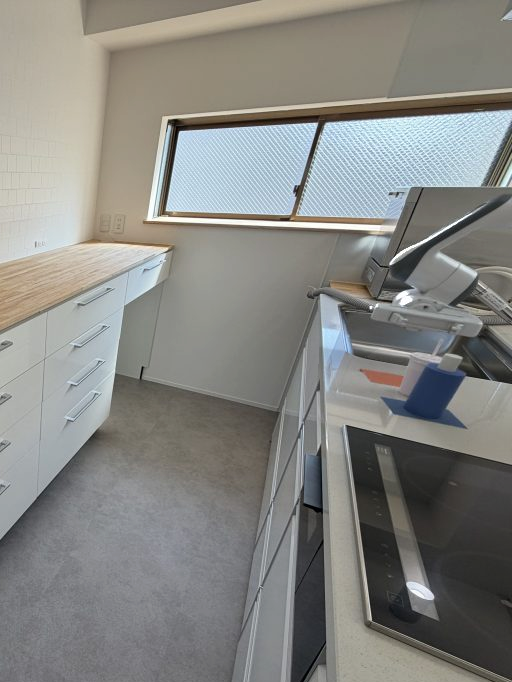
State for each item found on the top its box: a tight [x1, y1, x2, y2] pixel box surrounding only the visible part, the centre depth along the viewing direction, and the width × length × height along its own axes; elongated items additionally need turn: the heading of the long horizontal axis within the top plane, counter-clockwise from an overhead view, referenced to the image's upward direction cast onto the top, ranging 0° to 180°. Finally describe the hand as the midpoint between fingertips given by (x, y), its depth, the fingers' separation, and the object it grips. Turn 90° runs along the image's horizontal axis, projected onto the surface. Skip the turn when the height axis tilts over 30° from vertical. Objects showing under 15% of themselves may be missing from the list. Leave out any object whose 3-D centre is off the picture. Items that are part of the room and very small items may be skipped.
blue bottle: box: [403, 353, 467, 419], centre depth 85 cm, size 6×6×13 cm
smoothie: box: [398, 338, 445, 397], centre depth 93 cm, size 6×6×14 cm
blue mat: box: [380, 395, 469, 430], centre depth 89 cm, size 12×9×1 cm
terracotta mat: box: [359, 368, 404, 388], centre depth 103 cm, size 13×9×1 cm
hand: (428, 326), depth 99 cm, fingers open, 8 cm apart
